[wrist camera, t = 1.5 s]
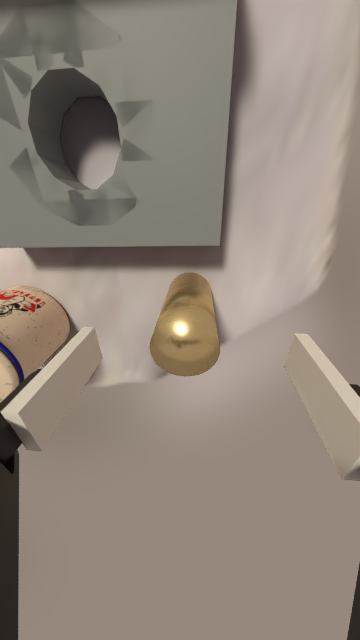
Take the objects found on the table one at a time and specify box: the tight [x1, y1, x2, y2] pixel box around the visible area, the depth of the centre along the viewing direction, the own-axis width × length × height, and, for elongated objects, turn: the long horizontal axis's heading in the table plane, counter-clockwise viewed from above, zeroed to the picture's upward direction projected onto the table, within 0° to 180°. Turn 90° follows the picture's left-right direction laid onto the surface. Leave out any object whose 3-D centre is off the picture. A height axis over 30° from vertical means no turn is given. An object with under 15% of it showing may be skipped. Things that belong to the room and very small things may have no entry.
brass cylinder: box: [150, 273, 220, 376], centre depth 18 cm, size 5×5×10 cm
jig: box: [0, 0, 237, 248], centre depth 13 cm, size 20×16×6 cm
